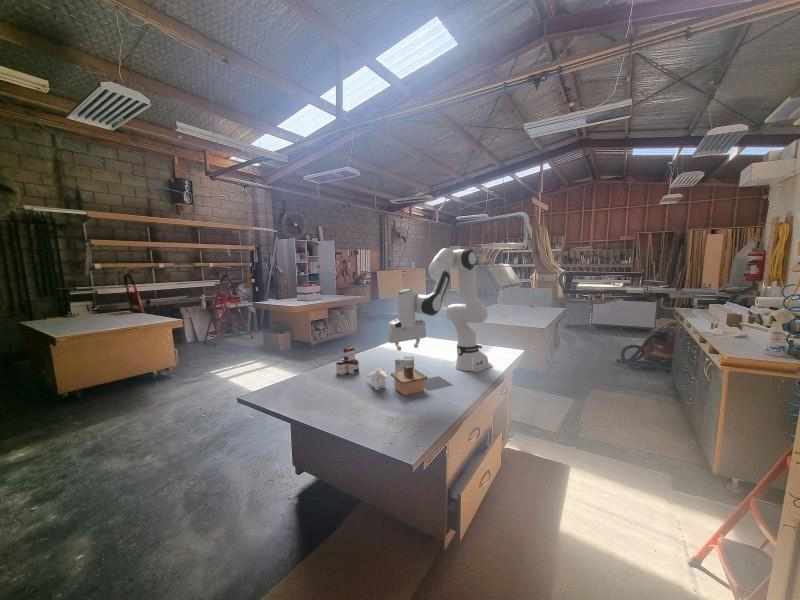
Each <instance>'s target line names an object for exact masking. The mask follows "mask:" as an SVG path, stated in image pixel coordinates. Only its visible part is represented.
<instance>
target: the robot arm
mask: <svg viewBox="0 0 800 600" xmlns="http://www.w3.org/2000/svg"><path fill="white" fill-rule="evenodd" d="M476 263H477V255H476V252H475V251H474V250H473V249H470V248H463V249H454V250H452V249H451V248H448V247H444V248H442V249H440V250H439V251H438V253H437V254H436V255H435V256H434V257H433V259H432V261H431V262H430V264H429V266H428V269H427V271H428V275H429V276H430V278H431V279H432V280H433V281H435V282H436V283H435V285H434V289H433V290H432V292H431V293H429V294H422V293H421V294H420V293H418V292H415V291H414V290H413V289H412V288H404V289H400V290H399V291H398V292H397V294H396V309H397V317H396V318H395V319H393V320H390V321H389V322H388V328H387V333H386V334H387V336H386V337H387V342H388V343H390V344H394V345H395V346H396V350H397V351H398V352H399V351H402V347H401V346H400V345H399V344H400V343H401V342H407V341H413V340H415V343H414V344H413V347H414V348H415V349H417V348H418V347H419V343H420V341H421V339H426V337H427V330H426V322H425V320H423V319H419V320H416V314H421V315H422V314H424V315H427V316H432V317H433V316H436V315H437V314H438V313H439V312H440V310H441V307H442V304H443V303H442V302H443V300H444V299H443V298H444V296H445V294H446V292H447V288H448V286H449V283H450V276H451V275H450V272H451V270H457V277H456V278H457V279H456V281H457V282H456V285H457V286H456V293H457V296H459V297H460V298H462V299H463V300H464V301H465V303H451V304H449V305H448V306H447V307H446V310H445V315H446V317H447V319H448V321H450V322H451V323H452V324H453V326H454V328H455V331H456V335H457V338H456V339H457V344H456V352H457V353H456V355H457V356H456V363H455V366H454V367H455V368H456V369H457V370H459V371H463V372H464V371H465V372H474V373H476V372H482V371H484V370H487V369H489V368H492V367H493V364H492V363H490V362H489V358H488V356H487V355H486V354H485V353H484V352H482V351H481V350H482V348H483V346H482V345H481V344H477V333H476V331H475V329H474V328H472V327H470V323H471V324H472V323H473V324H481V323H484V322H486V320H488V317H489V310H488V308H487V307H486V306H485V305H484V304H483V303H482V302H481V300H480V299H479V297H478V293H477V273H476V271H477V270H476V266H475V265H476Z"/></svg>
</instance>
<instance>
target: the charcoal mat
mask: <svg viewBox="0 0 800 600" xmlns="http://www.w3.org/2000/svg"><path fill="white" fill-rule="evenodd" d="M423 382H424V389H425V390H426V391H428V392H430V391H434V390H439V389H443V388H449V387H451V386H453V384H452V383H451V382H449V381H447V380H446V379H445V378H442V377H441V376H438V375H437V376H433V377H428V379H425V380H423Z"/></svg>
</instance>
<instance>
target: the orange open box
mask: <svg viewBox="0 0 800 600" xmlns="http://www.w3.org/2000/svg"><path fill="white" fill-rule="evenodd" d="M394 388H395V389H396V390H397V391H398V392H399V393H400V394H401V395H402V396H407V395H412V394H417V393H421V392H424V391H425V390H424V389H425V388H424V382H423V380H421V381H416V382H411V383H406V384H401V383H400V382H398V381H397V380H396V379H395V378H394Z"/></svg>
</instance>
